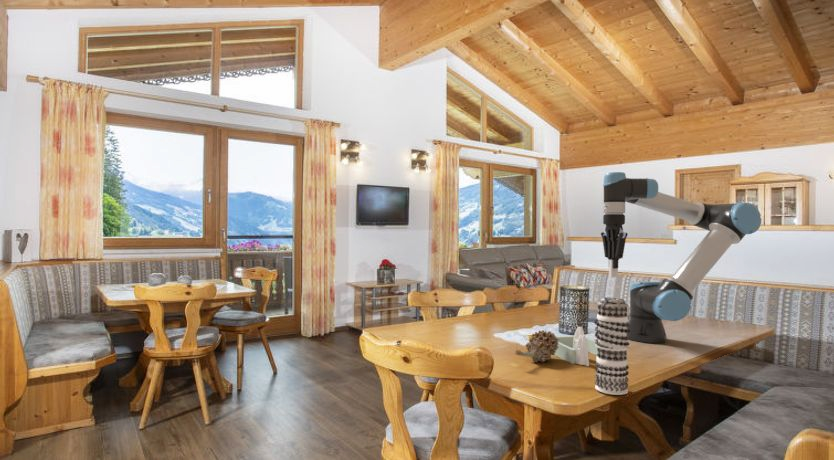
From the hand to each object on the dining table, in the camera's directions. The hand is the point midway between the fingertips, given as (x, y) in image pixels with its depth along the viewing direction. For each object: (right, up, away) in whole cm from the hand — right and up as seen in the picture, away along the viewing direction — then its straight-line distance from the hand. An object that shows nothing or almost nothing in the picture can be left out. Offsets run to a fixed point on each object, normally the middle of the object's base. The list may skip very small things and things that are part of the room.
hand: (613, 277), depth 181 cm
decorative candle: (-20, -27, -48) cm, 58 cm away
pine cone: (-34, -26, -22) cm, 48 cm away
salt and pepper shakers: (-19, -27, -19) cm, 37 cm away
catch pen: (-17, -26, -12) cm, 34 cm away
